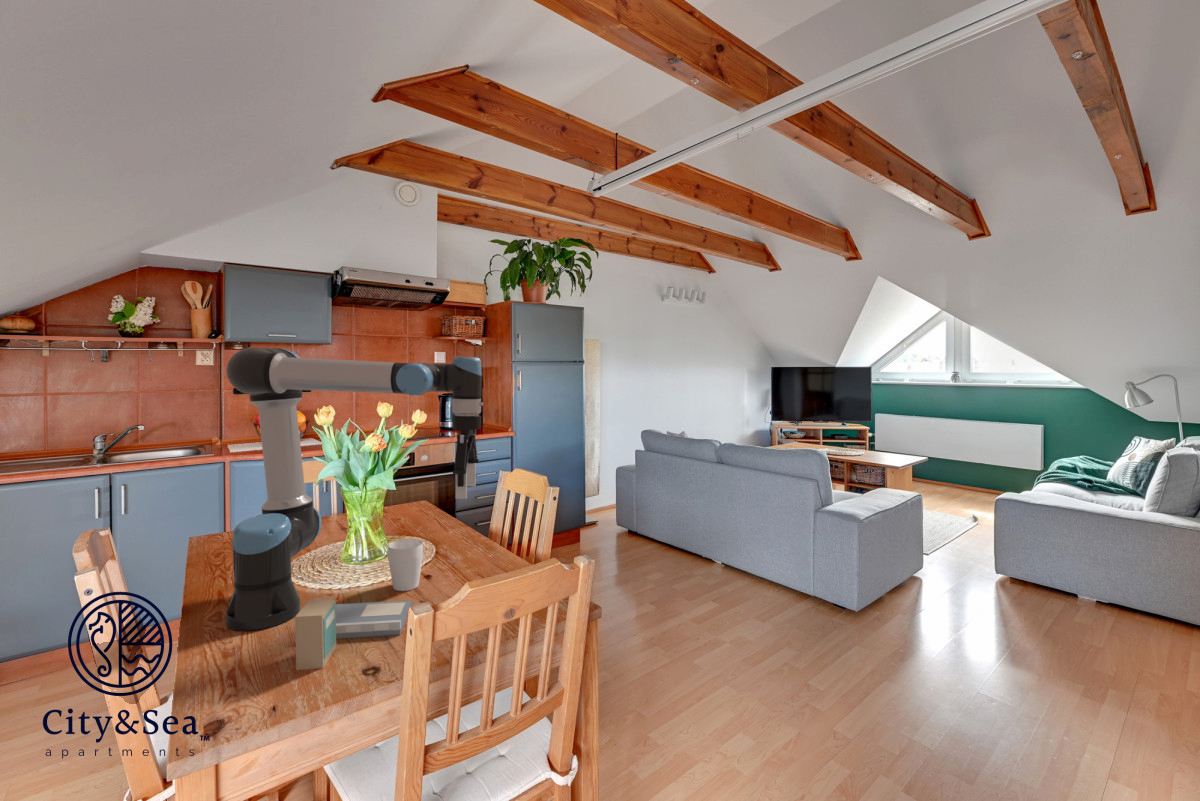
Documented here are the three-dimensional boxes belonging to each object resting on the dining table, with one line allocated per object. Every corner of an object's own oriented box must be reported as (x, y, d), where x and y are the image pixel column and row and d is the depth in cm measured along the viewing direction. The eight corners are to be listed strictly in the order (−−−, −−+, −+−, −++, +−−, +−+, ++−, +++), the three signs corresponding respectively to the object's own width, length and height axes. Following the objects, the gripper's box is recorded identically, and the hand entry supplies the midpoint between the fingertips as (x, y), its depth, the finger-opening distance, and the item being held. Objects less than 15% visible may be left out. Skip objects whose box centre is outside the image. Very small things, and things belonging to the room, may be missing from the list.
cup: (411, 594, 140) (411, 550, 139) (381, 591, 142) (380, 547, 141) (429, 581, 149) (429, 539, 148) (400, 578, 150) (400, 537, 150)
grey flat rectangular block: (304, 641, 116) (304, 628, 116) (328, 609, 131) (328, 597, 131) (400, 635, 119) (399, 622, 119) (412, 604, 134) (412, 593, 134)
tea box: (324, 668, 106) (323, 615, 105) (296, 670, 105) (295, 616, 104) (337, 647, 114) (336, 597, 113) (311, 648, 113) (310, 598, 112)
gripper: (472, 419, 130) (472, 504, 131) (487, 410, 155) (486, 481, 156) (441, 418, 129) (441, 503, 131) (461, 410, 154) (461, 481, 155)
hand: (466, 492), depth 143 cm, fingers open, 13 cm apart
